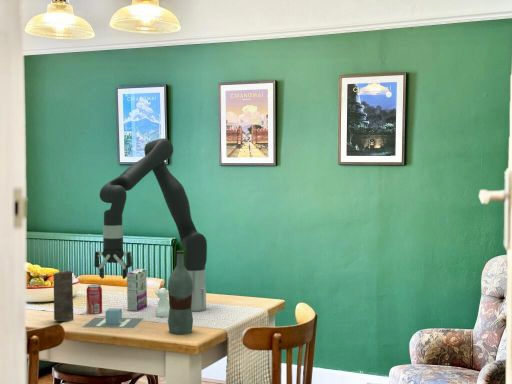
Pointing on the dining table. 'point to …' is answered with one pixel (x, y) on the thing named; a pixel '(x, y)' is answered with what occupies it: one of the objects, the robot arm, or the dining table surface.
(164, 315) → the seated beast figurine
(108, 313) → the blue block
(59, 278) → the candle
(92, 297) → the soda can
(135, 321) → the letter board
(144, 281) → the candy bar box
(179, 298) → the bottle
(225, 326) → the dining table surface
